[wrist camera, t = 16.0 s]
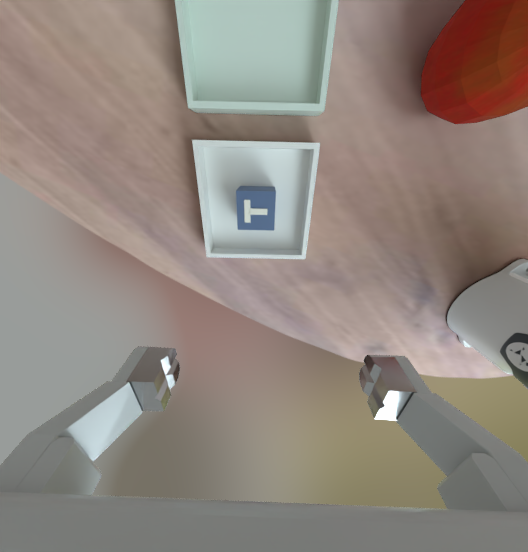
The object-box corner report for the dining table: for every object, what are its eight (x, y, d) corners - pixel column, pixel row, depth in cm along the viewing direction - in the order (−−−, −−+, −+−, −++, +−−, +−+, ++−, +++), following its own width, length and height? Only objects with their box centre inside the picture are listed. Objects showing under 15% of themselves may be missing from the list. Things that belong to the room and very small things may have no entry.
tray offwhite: (314, 144, 26) (320, 142, 23) (302, 251, 33) (305, 259, 30) (199, 141, 26) (192, 139, 23) (211, 249, 33) (206, 257, 30)
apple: (423, 149, 26) (522, 144, 16) (387, 66, 22) (485, -6, 12) (516, 76, 23) (714, 14, 13) (492, -34, 19) (742, -245, 9)
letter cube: (274, 186, 28) (276, 191, 24) (273, 220, 30) (274, 230, 26) (240, 185, 28) (235, 190, 24) (241, 220, 30) (237, 230, 26)
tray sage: (343, -96, 18) (356, -140, 15) (318, 116, 25) (324, 111, 22) (172, -101, 17) (156, -147, 15) (196, 112, 24) (188, 107, 22)
